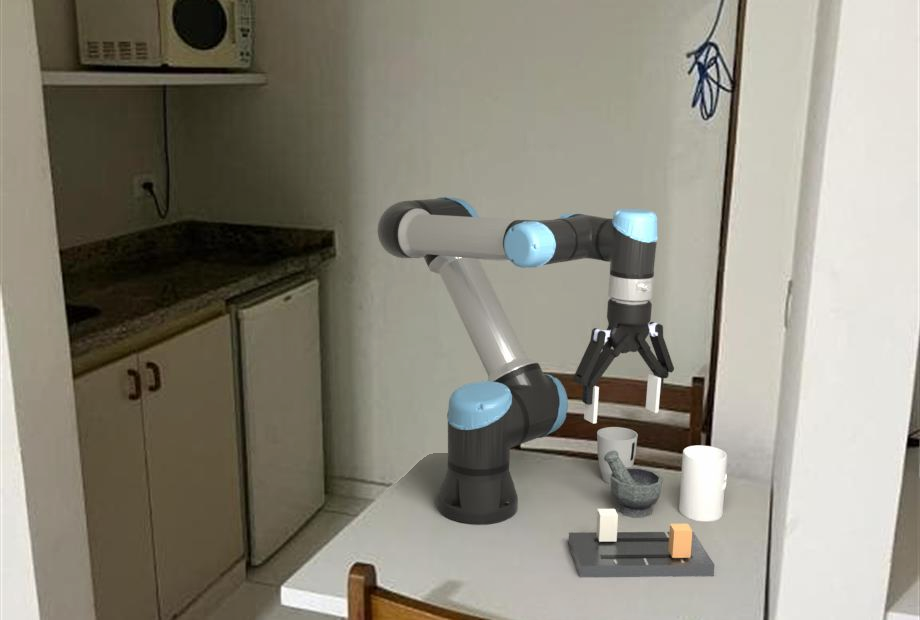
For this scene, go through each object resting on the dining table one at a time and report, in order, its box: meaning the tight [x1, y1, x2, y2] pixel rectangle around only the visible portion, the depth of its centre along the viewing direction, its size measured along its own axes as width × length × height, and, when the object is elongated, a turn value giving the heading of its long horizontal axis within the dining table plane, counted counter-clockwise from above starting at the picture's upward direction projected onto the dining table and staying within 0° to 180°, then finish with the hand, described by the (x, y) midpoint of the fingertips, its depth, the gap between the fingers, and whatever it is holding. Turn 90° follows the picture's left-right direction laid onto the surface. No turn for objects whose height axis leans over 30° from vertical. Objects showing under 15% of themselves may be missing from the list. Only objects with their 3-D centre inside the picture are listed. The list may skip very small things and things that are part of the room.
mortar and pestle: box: [604, 451, 664, 519], centre depth 173 cm, size 11×9×12 cm
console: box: [568, 531, 715, 578], centre depth 156 cm, size 22×12×2 cm, turn 92°
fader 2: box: [668, 523, 693, 558], centre depth 152 cm, size 3×3×5 cm
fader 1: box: [596, 508, 619, 542], centre depth 158 cm, size 3×3×5 cm
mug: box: [678, 444, 728, 523], centre depth 175 cm, size 8×12×12 cm
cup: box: [596, 426, 639, 484], centre depth 188 cm, size 8×8×10 cm
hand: (621, 415), depth 164 cm, fingers open, 13 cm apart
